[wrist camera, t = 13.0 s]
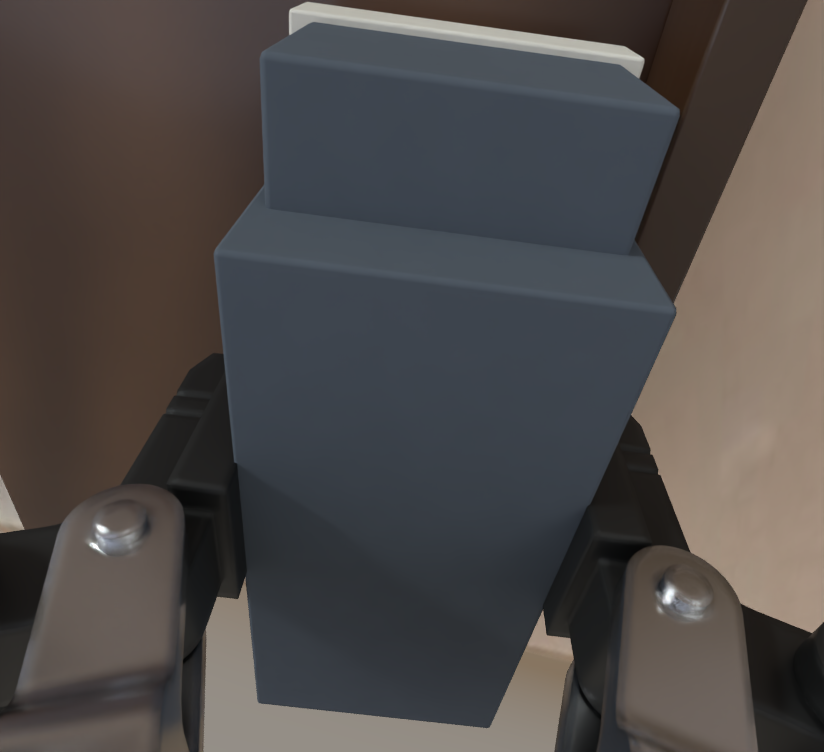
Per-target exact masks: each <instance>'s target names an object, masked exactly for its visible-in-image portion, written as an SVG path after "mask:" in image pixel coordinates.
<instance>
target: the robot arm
mask: <svg viewBox="0 0 824 752" xmlns="http://www.w3.org/2000/svg"><path fill="white" fill-rule="evenodd" d="M650 451H651V450H650V447H649V445H648V442H647V440H646V437H645V434H644V432H643V429H642V427H641V425H640V424H639V423H638V422H637V421H636V420H635V419H634V418H633V417H632V415H631V416H630V418H629V420H628V422H627V424H626V427H625V429H624V431H623V433H622V435H621V438H620V440H619V442H618V444H617V447H616V449H615V451H614V453H613V455H612V458H611V460H610V462H609V464H608V466H607V469H606V471H605V473H604V475H603V478H602V480H601V482H600V484H599V486H598V489H597V491H596V493H595V495H594V497H593V500H592V502H591V504H590V505H588V506H587V508H586V510H585V513H584V515H583V517H582V519H581V522H580V524H579V526H578V528H577V530H576V533H575V535H574V537H573V539H572V542H571V544H570V546H569V548H568V550H567V553H566V555H565V557H564V559H563V562H562V564H561V566H560V568H559V570H558V573H557V575H556V577H555V579H554V582H553V584H552V586H551V588H550V590H549V593H548V595H547V597H546V599H545V601H544V604H543V611H544V618H545V625H546V633H547V635H549V636H558V637H566V638H571V644H572V650H573V656H574V660H573V661H572V663H571V665H570V667H569V669H568V671H567V674H566V678H565V685H564V691H563V698H562V705H561V712H560V718H559V725H558V731H557V738H556V745H555V752H824V623H822V624H821V625H820V626H819V627H818V628H817V629H816V630H815V631H814V632H813V633H810V632H807V631H805V630H802V629H800V628H797V627H795V626H792V625H790V624H787V623H785V622H782V621H780V620H777V619H775V618H772V617H770V616H767V615H765V614H762V613H760V612H757V611H755V610H753V609H751V608H748V607H746V606H744V605H742V604H741V603H740V602H739V599H738V597H737V595H736V593H735V591H734V590H733V588H732V587H731V585H730V584H729V583H728V581H727V580H726V579H725V578H724V577H723V576H722V575H721V574H720V573H719V572H718V571H717V570H716V569H715V568H714V567H713V566H711V565H710V564H709V563H707V562H706V561H704V560H703V559H701V558H700V557H698V556H696V555H694V554H692V553H691V552H690V550H689V548H688V545H687V542H686V540H685V537H684V535H683V532H682V530H681V527H680V524H679V522H678V519H677V517H676V514H675V512H674V509H673V506H672V504H671V501H670V499H669V496H668V494H667V491H666V488H665V486H664V483H663V481H662V478H661V476H660V475H658V468H657V465H656V463H655V460H654V458H653V455H650ZM246 573H247V566H246V555H245V544H244V533H243V523H242V512H241V501H240V490H239V479H238V469H237V463H235V462H234V456H233V445H232V435H231V425H230V415H229V405H228V395H227V384H226V374H225V364H224V354H220V353H212V354H211V355H210V356H208V357H207V358H205V359H204V360H203V361H201V362H200V363H198V364H197V365H196V366H194V367H193V368H191V369H190V370H189V372H188V373H187V375H186V377H185V378H184V380H183V382H182V383H181V385H180V387H179V388H178V390H177V395H176V396H175V395H174V397H173V398H172V400H171V402H170V403H169V405H168V407H167V408H166V413H165V414H163V415H162V417H161V418H160V420H159V422H158V423H157V425H156V426H155V428H154V430H153V431H152V433H151V435H150V436H149V438H148V440H147V441H146V443H145V445H144V446H143V448H142V450H141V451H140V453H139V455H138V456H137V458H136V460H135V461H134V463H133V465H132V466H131V468H130V470H129V471H128V473H127V475H126V476H125V478H124V480H123V481H122V483H121V484H120V486H116V487H112V488H109V489H106V490H104V491H101V492H99V493H97V494H95V495H93V496H91V497H89V498H88V499H86V500H85V501H83V502H82V503H80V504H79V505H78V506H77V507H76V508H75V509H73V510H72V511H71V512H70V514H69V515H68V516H67V517H66V518H65V520H64V522H63V523H60V524H57V525H52V526H47V527H41V528H34V529H27V530H20V531H13V532H7V533H0V752H203V747H204V708H205V669H206V630H205V629H206V626H207V623H208V620H209V617H210V615H211V612H212V609H213V606H214V603H215V601H216V598H217V597H226V598H234V599H238V598H239V594H240V591H241V588H242V585H243V582H244V579H245V576H246Z"/></svg>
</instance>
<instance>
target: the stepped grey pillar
mask: <svg viewBox="0 0 824 752" xmlns="http://www.w3.org/2000/svg"><path fill="white" fill-rule="evenodd" d="M643 65H644V58H643V57H641V56H640V55H638V54H636V53H635V52H633V51H632V50H630V49H628V48H627V47H625V46H619V45H612V44H605V43H598V42H590V41H583V40H576V39H569V38H562V37H555V36H548V35H541V34H533V33H526V32H519V31H512V30H505V29H498V28H491V27H484V26H476V25H469V24H462V23H455V22H448V21H441V20H434V19H426V18H419V17H412V16H405V15H398V14H391V13H384V12H377V11H369V10H362V9H355V8H348V7H341V6H334V5H327V4H320V3H312V2H306V3H303V4H301V5H299V6H296V7H294V8H292V9H290V11H289V36H287V37H286V38H284V39H282V40H281V41H279V42H277V43H276V44H274V45H272V46H271V47H269V48H267V49H266V50H264V51H262V53H261V56H260V84H261V110H262V136H263V162H264V185H263V187H262V188H261V189H260V191H259V192H258V193H257V195H256V196H255V197H254V199H253V200H252V201H251V202H250V204H249V205H248V206H247V208H246V209H245V210H244V212H243V213H242V214H241V216H240V217H239V218H238V220H237V221H236V222H235V224H234V225H233V226H232V228H231V229H230V230H229V231H228V233H227V234H226V235H225V237H224V238H223V239H222V241H221V242H220V243H219V245H218V246H217V247H216V249H215V251H214V263H215V273H216V283H217V293H218V303H219V313H220V324H221V334H222V344H223V354H224V364H225V374H226V384H227V395H228V405H229V415H230V425H231V435H232V445H233V456H234V462H235V463H237V469H238V479H239V490H240V501H241V512H242V523H243V533H244V544H245V555H246V566H247V573H246V576H245V577H246V587H247V597H248V608H249V618H250V627H251V638H252V648H253V658H254V669H255V679H256V689H257V699H258V702H259V703H262V704H272V705H280V706H289V707H299V708H309V709H317V710H326V711H335V712H345V713H354V714H364V715H372V716H382V717H391V718H400V719H409V720H419V721H427V722H437V723H447V724H455V725H464V726H473V727H483V728H489V727H490V725H491V723H492V721H493V719H494V717H495V714H496V712H497V710H498V707H499V706H500V703H501V701H502V699H503V696H504V694H505V692H506V690H507V688H508V685H509V683H510V681H511V679H512V677H513V675H514V672H515V670H516V668H517V665H518V663H519V661H520V659H521V657H522V655H523V652H524V650H525V648H526V646H527V644H528V641H529V639H530V637H531V635H532V633H533V630H534V628H535V626H536V624H537V621H538V619H539V617H540V615H541V613H542V610H543V604H544V601H545V599H546V597H547V595H548V593H549V590H550V588H551V586H552V584H553V582H554V579H555V577H556V575H557V573H558V570H559V568H560V566H561V564H562V562H563V559H564V557H565V555H566V553H567V550H568V548H569V546H570V544H571V542H572V539H573V537H574V535H575V533H576V530H577V528H578V526H579V524H580V522H581V519H582V517H583V515H584V513H585V510H586V508H587V506H588V505H590V504H591V502H592V500H593V497H594V495H595V493H596V491H597V489H598V486H599V484H600V482H601V480H602V478H603V475H604V473H605V471H606V469H607V466H608V464H609V462H610V460H611V458H612V455H613V453H614V451H615V449H616V447H617V444H618V442H619V440H620V438H621V435H622V433H623V431H624V429H625V427H626V424H627V422H628V420H629V418H630V416H631V413H632V411H633V409H634V407H635V404H636V402H637V400H638V398H639V396H640V393H641V391H642V389H643V387H644V385H645V382H646V380H647V378H648V376H649V373H650V371H651V369H652V367H653V365H654V362H655V360H656V358H657V356H658V354H659V351H660V349H661V347H662V345H663V342H664V340H665V338H666V336H667V334H668V331H669V329H670V327H671V325H672V323H673V320H674V318H675V316H676V307H675V305H674V304H673V302H672V300H671V299H670V297H669V296H668V294H667V292H666V291H665V289H664V287H663V286H662V284H661V282H660V281H659V279H658V277H657V276H656V274H655V273H654V271H653V269H652V268H651V266H650V264H649V263H648V261H647V259H646V258H645V256H644V254H643V253H642V251H641V249H640V248H639V246H638V245H637V243H636V241H635V240H634V239H635V237H636V234H637V231H638V229H639V226H640V223H641V220H642V218H643V215H644V212H645V210H646V207H647V204H648V201H649V199H650V196H651V193H652V191H653V188H654V185H655V182H656V180H657V177H658V174H659V172H660V169H661V166H662V163H663V161H664V158H665V155H666V153H667V150H668V147H669V144H670V142H671V139H672V136H673V134H674V131H675V128H676V125H677V123H678V120H679V117H680V109H679V108H677V107H676V106H675V105H673V104H672V103H671V102H669V101H668V100H667V99H665V98H664V97H663V96H661V95H660V94H659V93H657V92H656V91H655V90H653V89H652V88H651V87H649V86H648V85H647V84H645V83H644V82H643V81H641V80H640V79H639V78H640V75H641V72H642V69H643Z"/></svg>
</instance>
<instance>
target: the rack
mask: <svg viewBox="0 0 824 752" xmlns="http://www.w3.org/2000/svg"><path fill="white" fill-rule="evenodd" d="M306 2H312V3H320V4H327V5H334V6H341V7H348V8H355V9H362V10H369V11H377V12H384V13H391V14H398V15H405V16H412V17H419V18H426V19H434V20H441V21H448V22H455V23H462V24H469V25H476V26H484V27H491V28H498V29H505V30H512V31H519V32H526V33H533V34H541V35H548V36H555V37H562V38H569V39H576V40H583V41H590V42H598V43H605V44H612V45H619V46H625V47H627V48H628V49H630V50H632V51H633V52H635V53H636V54H638V55H640V56H641V57H643V58H644V65H643V69H642V72H641V75H640V78H639V79H640V80H641V81H643V82H644V83H645V84H647V85H648V86H649V87H651V88H652V89H653V90H655V91H656V92H657V93H659V94H660V95H661V96H663V97H664V98H665V99H667V100H668V101H669V102H671V103H672V104H673V105H675V106H676V107H677V108H679V109H680V117H679V120H678V123H677V125H676V128H675V131H674V134H673V136H672V139H671V142H670V144H669V147H668V150H667V153H666V155H665V158H664V161H663V163H662V166H661V169H660V172H659V174H658V177H657V180H656V182H655V185H654V188H653V191H652V193H651V196H650V199H649V201H648V204H647V207H646V210H645V212H644V215H643V218H642V220H641V223H640V226H639V229H638V231H637V234H636V237H635V239H634V240H635V241H636V243H637V245H638V246H639V248H640V249H641V251H642V253H643V254H644V256H645V258H646V259H647V261H648V263H649V264H650V266H651V268H652V269H653V271H654V273H655V274H656V276H657V277H658V279H659V281H660V282H661V284H662V286H663V287H664V289H665V291H666V292H667V294H668V296H669V297H670V299H671V300H672V302H673V303H674V301H675V299H676V296H677V294H678V292H679V290H680V287H681V285H682V283H683V281H684V278H685V276H686V274H687V272H688V269H689V267H690V265H691V263H692V260H693V258H694V256H695V253H696V251H697V249H698V247H699V244H700V242H701V240H702V238H703V235H704V233H705V231H706V229H707V226H708V224H709V222H710V220H711V217H712V215H713V213H714V210H715V208H716V206H717V204H718V201H719V199H720V197H721V195H722V192H723V190H724V188H725V186H726V183H727V181H728V179H729V177H730V174H731V172H732V170H733V168H734V165H735V163H736V161H737V158H738V156H739V154H740V152H741V149H742V147H743V145H744V143H745V140H746V138H747V136H748V134H749V131H750V129H751V127H752V125H753V122H754V120H755V118H756V115H757V113H758V111H759V109H760V106H761V104H762V102H763V100H764V97H765V95H766V93H767V91H768V88H769V86H770V84H771V82H772V79H773V77H774V75H775V72H776V70H777V68H778V66H779V63H780V61H781V59H782V57H783V54H784V52H785V50H786V48H787V45H788V43H789V41H790V39H791V36H792V34H793V32H794V29H795V27H796V25H797V23H798V20H799V18H800V16H801V14H802V11H803V9H804V7H805V5H806V2H807V0H0V475H1V477H2V479H3V482H4V484H5V486H6V488H7V491H8V493H9V495H10V497H11V500H12V502H13V504H14V506H15V509H16V511H17V513H18V515H19V518H20V520H21V522H22V524H23V527H24V529H25V530H27V529H34V528H41V527H47V526H52V525H57V524H60V523H63V522H64V520H65V518H66V517H67V516H68V515H69V514H70V512H71V511H72V510H73V509H75V508H76V507H77V506H78V505H79V504H80V503H82V502H83V501H85V500H86V499H88V498H89V497H91V496H93V495H95V494H97V493H99V492H101V491H104V490H106V489H109V488H112V487H116V486H120V484H121V483H122V481H123V480H124V478H125V476H126V475H127V473H128V471H129V470H130V468H131V466H132V465H133V463H134V461H135V460H136V458H137V456H138V455H139V453H140V451H141V450H142V448H143V446H144V445H145V443H146V441H147V440H148V438H149V436H150V435H151V433H152V431H153V430H154V428H155V426H156V425H157V423H158V422H159V420H160V418H161V417H162V415H163V414H165V413H166V408H167V407H168V405H169V403H170V402H171V400H172V398H173V397H174V395H175V396H176V395H177V390H178V388H179V387H180V385H181V383H182V382H183V380H184V378H185V377H186V375H187V373H188V372H189V370H190V369H191V368H193V367H194V366H196V365H197V364H198V363H200V362H201V361H203V360H204V359H205V358H207V357H208V356H210V355H211V354H212V353H220V354H223V344H222V334H221V324H220V313H219V303H218V293H217V283H216V273H215V263H214V251H215V249H216V247H217V246H218V245H219V243H220V242H221V241H222V239H223V238H224V237H225V235H226V234H227V233H228V231H229V230H230V229H231V228H232V226H233V225H234V224H235V222H236V221H237V220H238V218H239V217H240V216H241V214H242V213H243V212H244V210H245V209H246V208H247V206H248V205H249V204H250V202H251V201H252V200H253V199H254V197H255V196H256V195H257V193H258V192H259V191H260V189H261V188H262V187H263V185H264V162H263V136H262V110H261V84H260V56H261V53H262V51H264V50H266V49H267V48H269V47H271V46H272V45H274V44H276V43H277V42H279V41H281V40H282V39H284V38H286V37H287V36H289V11H290V9H292V8H294V7H296V6H299V5H301V4H303V3H306Z"/></svg>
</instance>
